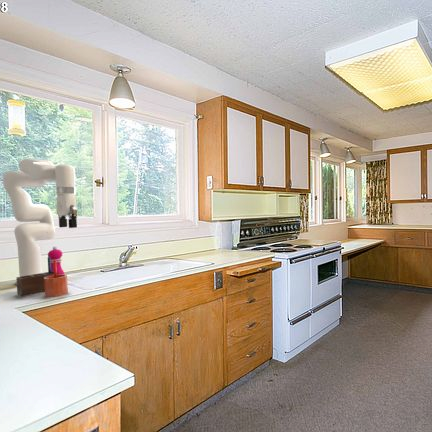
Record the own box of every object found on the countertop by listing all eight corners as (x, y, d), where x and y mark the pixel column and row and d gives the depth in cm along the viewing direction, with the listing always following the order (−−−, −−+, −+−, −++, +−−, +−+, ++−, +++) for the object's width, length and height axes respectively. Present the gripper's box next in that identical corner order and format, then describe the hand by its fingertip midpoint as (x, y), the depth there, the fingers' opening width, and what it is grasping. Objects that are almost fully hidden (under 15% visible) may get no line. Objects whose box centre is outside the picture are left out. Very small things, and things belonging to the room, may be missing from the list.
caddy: (17, 296, 143) (16, 277, 143) (54, 288, 155) (53, 271, 155) (22, 298, 140) (20, 278, 140) (59, 290, 152) (58, 272, 152)
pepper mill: (68, 283, 166) (66, 245, 165) (57, 287, 158) (55, 247, 157) (56, 283, 166) (54, 245, 165) (44, 286, 159) (42, 247, 158)
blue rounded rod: (48, 289, 152) (46, 256, 151) (50, 288, 153) (49, 256, 152) (50, 289, 150) (48, 257, 150) (53, 289, 151) (51, 256, 151)
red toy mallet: (53, 294, 143) (52, 259, 142) (56, 293, 143) (54, 259, 143) (56, 295, 141) (54, 260, 140) (59, 294, 142) (57, 259, 141)
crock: (41, 297, 141) (40, 277, 141) (63, 292, 148) (62, 273, 148) (49, 300, 137) (48, 279, 136) (71, 295, 144) (70, 275, 143)
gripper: (48, 191, 151) (50, 227, 152) (65, 190, 142) (67, 228, 143) (66, 192, 157) (68, 226, 158) (83, 191, 148) (85, 227, 149)
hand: (68, 227), depth 150 cm, fingers open, 9 cm apart
